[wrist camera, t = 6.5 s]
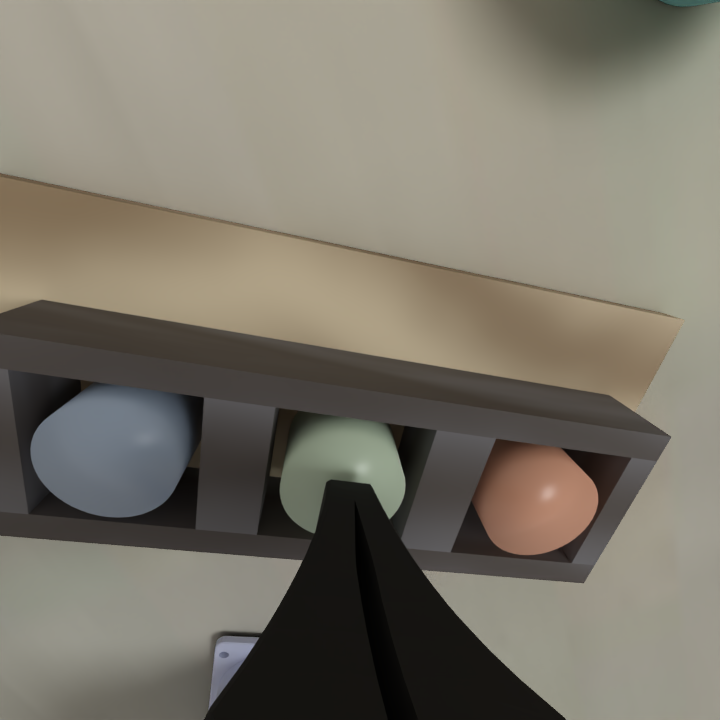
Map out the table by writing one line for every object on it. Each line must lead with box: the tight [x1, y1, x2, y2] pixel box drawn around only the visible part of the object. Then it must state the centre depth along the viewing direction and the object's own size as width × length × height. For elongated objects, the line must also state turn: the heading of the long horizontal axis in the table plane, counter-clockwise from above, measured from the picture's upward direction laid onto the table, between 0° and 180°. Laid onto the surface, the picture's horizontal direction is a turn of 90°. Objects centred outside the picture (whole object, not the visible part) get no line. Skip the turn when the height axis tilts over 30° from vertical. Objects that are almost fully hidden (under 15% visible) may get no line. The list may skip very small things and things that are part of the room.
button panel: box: [0, 173, 685, 583], centre depth 14 cm, size 14×24×4 cm, turn 78°
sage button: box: [280, 411, 405, 533], centre depth 13 cm, size 4×4×3 cm
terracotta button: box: [471, 439, 598, 555], centre depth 14 cm, size 4×4×3 cm
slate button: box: [30, 382, 204, 518], centre depth 12 cm, size 4×4×3 cm
